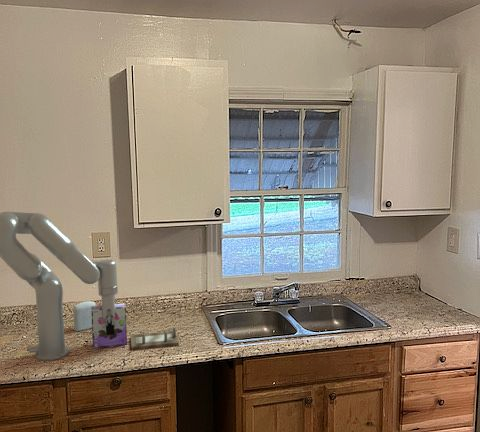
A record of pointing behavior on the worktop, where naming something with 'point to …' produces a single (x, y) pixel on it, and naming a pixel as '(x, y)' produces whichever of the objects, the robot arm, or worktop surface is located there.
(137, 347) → the grey tray
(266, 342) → the worktop surface
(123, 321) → the candy box
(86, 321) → the photo printer
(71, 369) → the worktop surface
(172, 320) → the worktop surface
